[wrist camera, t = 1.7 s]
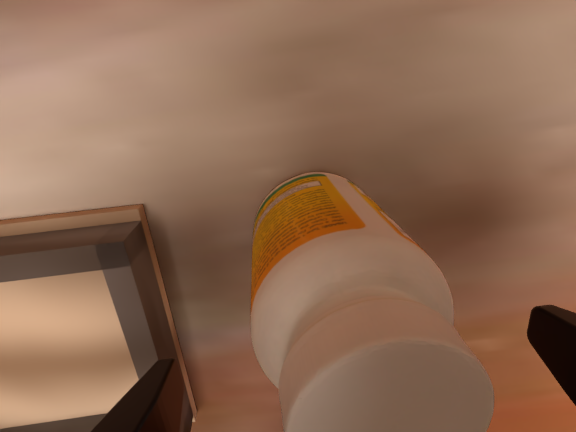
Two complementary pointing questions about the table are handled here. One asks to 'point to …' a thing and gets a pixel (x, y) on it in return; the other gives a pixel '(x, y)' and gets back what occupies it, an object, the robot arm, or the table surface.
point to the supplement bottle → (356, 318)
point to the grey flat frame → (80, 318)
